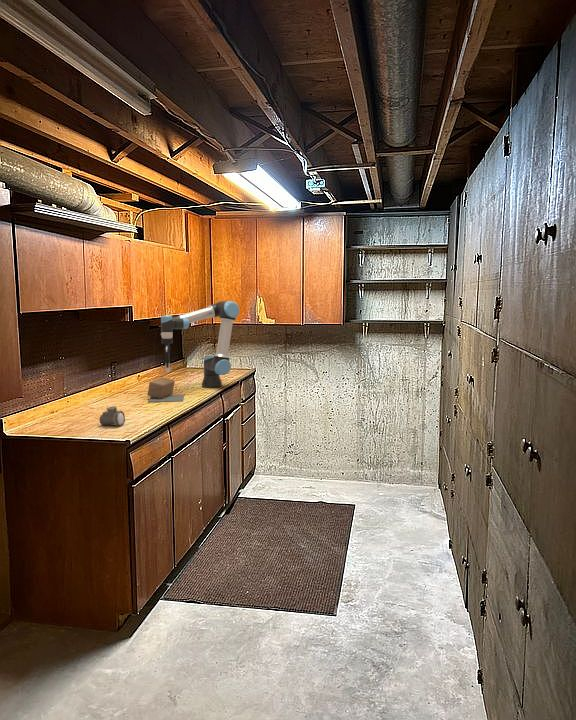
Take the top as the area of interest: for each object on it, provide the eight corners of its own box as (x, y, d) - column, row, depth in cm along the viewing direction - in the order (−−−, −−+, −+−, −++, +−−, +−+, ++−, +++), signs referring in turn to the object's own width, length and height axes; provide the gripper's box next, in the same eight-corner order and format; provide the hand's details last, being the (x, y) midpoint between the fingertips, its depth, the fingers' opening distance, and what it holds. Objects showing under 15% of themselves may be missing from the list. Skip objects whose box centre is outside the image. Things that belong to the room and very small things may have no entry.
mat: (184, 395, 379) (184, 394, 379) (182, 401, 357) (182, 400, 357) (151, 396, 376) (151, 395, 376) (147, 402, 354) (147, 401, 354)
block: (172, 394, 381) (160, 399, 362) (159, 390, 383) (146, 395, 363) (175, 380, 380) (163, 385, 360) (162, 376, 381) (149, 381, 362)
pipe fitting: (127, 423, 294) (123, 404, 292) (119, 428, 286) (115, 409, 285) (107, 424, 297) (103, 406, 295) (99, 429, 289) (95, 410, 288)
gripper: (162, 337, 385) (163, 370, 387) (160, 338, 372) (161, 373, 374) (173, 337, 386) (173, 370, 388) (171, 338, 373) (172, 373, 375)
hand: (167, 372), depth 381 cm, fingers closed
